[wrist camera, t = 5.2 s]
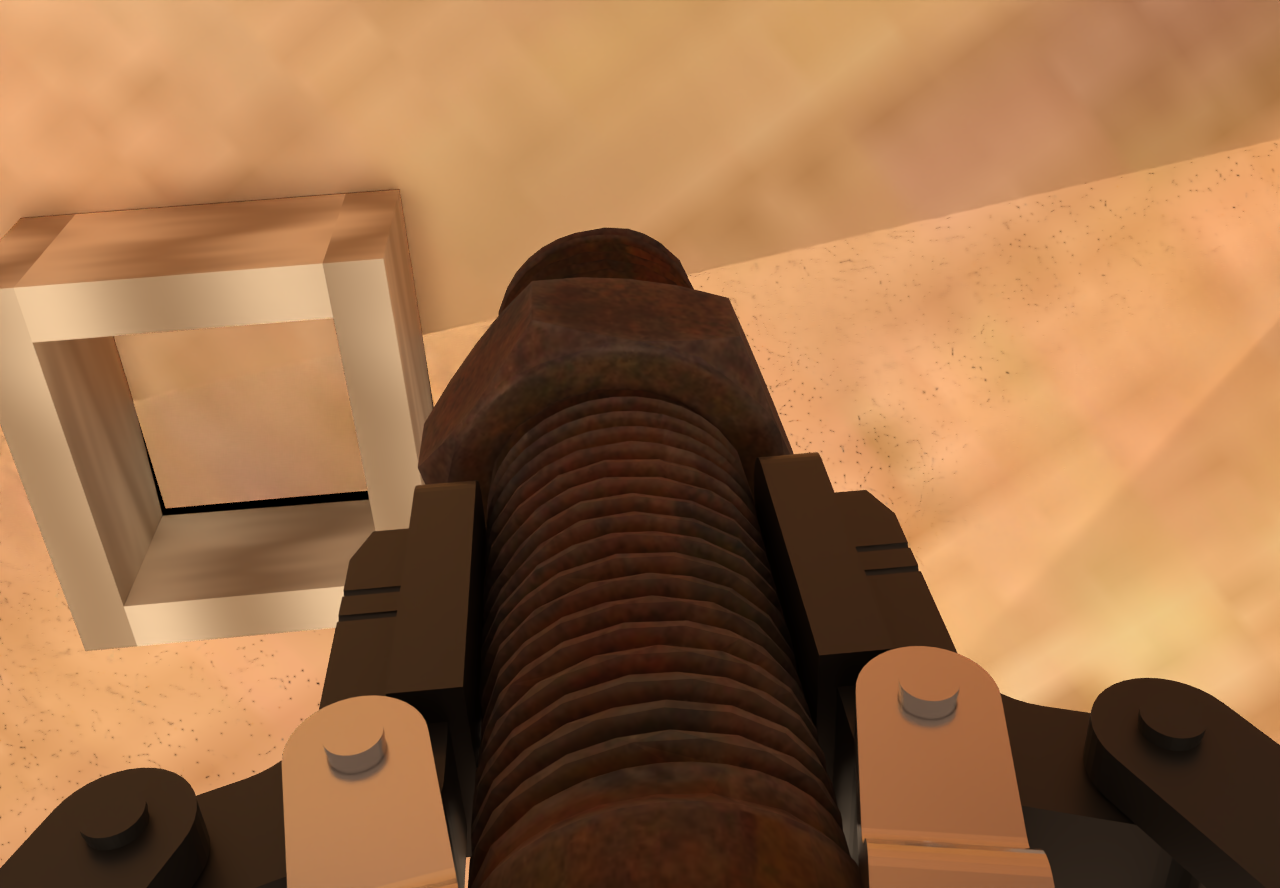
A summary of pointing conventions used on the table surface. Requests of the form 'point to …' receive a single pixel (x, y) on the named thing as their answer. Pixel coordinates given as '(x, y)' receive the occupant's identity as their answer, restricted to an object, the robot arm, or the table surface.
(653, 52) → the table surface
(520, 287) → the bolt
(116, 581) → the socket block
